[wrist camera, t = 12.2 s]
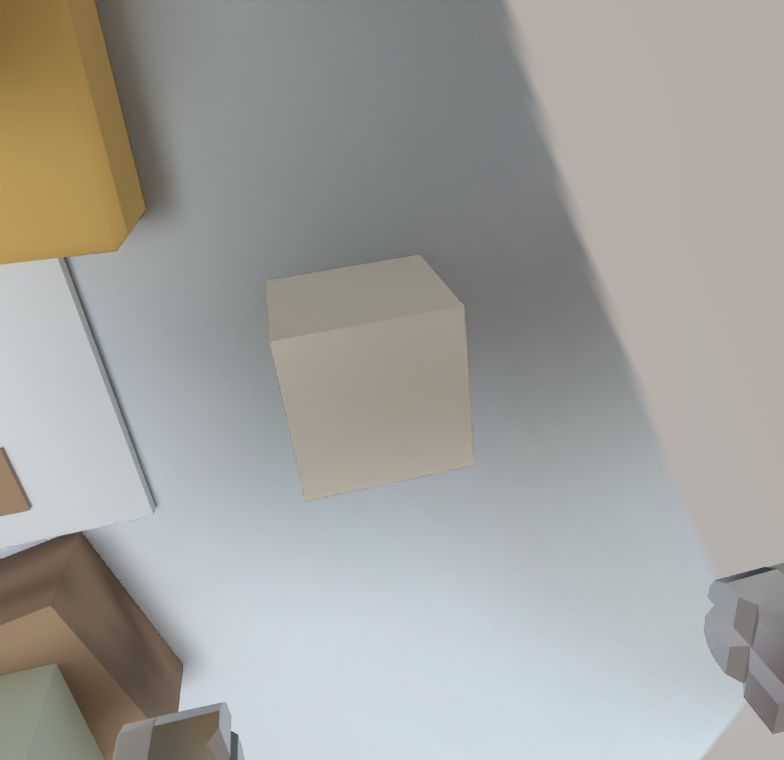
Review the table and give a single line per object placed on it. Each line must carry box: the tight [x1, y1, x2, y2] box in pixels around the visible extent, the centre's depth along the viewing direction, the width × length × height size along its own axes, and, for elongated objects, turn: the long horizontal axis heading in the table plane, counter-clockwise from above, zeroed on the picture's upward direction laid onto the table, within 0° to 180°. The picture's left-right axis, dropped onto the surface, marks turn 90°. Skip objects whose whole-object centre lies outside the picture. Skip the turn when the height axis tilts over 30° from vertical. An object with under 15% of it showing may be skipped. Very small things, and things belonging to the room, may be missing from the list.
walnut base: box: [0, 531, 183, 760], centre depth 23 cm, size 8×8×4 cm
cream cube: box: [266, 254, 474, 501], centre depth 19 cm, size 5×5×5 cm
